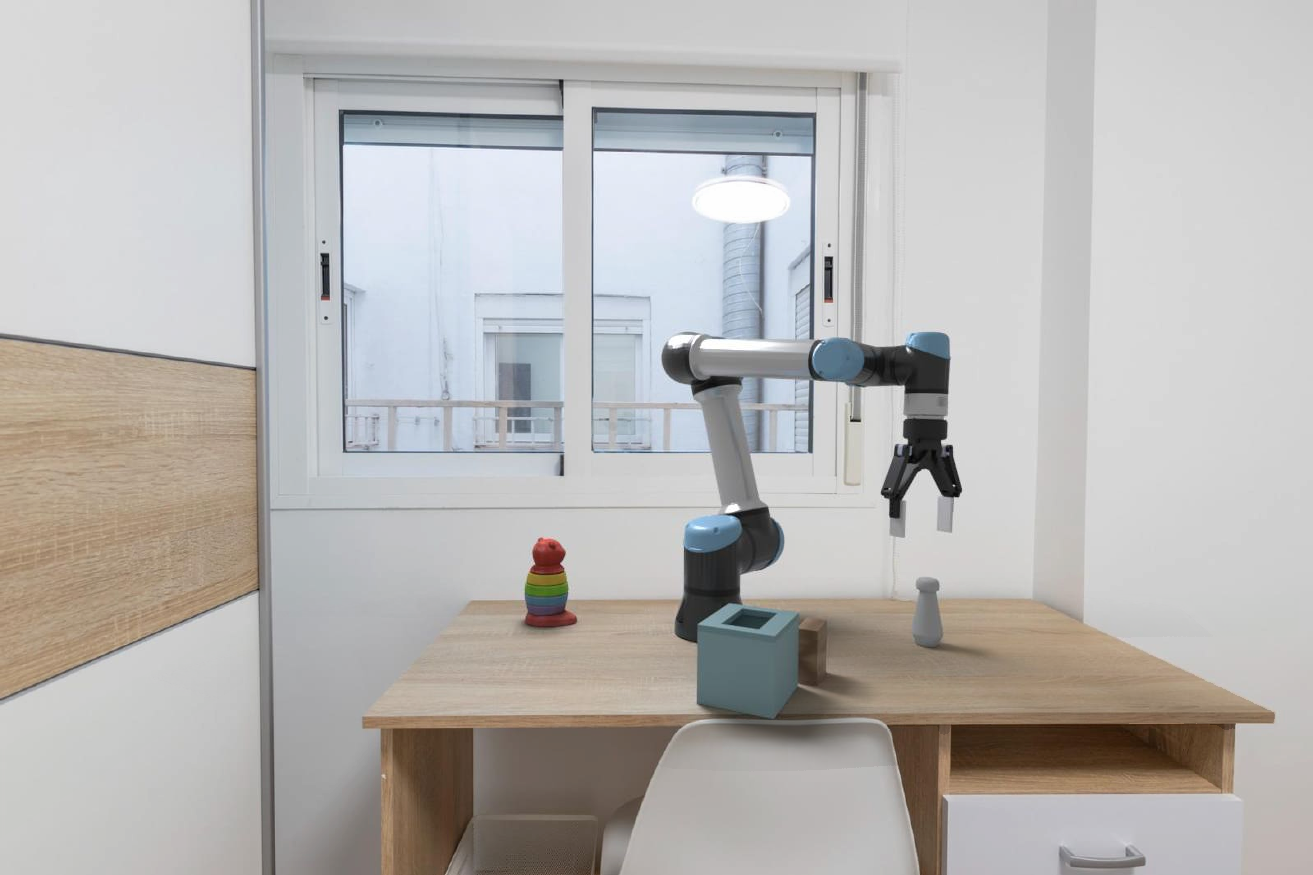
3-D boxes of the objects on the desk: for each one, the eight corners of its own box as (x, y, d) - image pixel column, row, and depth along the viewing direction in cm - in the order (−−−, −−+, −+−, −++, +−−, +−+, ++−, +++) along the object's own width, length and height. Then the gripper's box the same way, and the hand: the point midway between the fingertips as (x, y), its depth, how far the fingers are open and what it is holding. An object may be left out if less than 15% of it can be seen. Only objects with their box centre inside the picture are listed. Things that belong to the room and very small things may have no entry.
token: (795, 682, 109) (796, 628, 109) (805, 668, 115) (806, 617, 115) (816, 686, 107) (817, 631, 107) (825, 672, 114) (826, 620, 114)
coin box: (696, 703, 100) (697, 624, 100) (728, 673, 112) (729, 603, 112) (773, 719, 95) (774, 636, 95) (797, 686, 107) (798, 612, 107)
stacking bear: (580, 623, 141) (581, 540, 141) (536, 630, 135) (537, 544, 135) (558, 611, 150) (559, 533, 150) (516, 618, 144) (516, 536, 144)
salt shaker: (945, 649, 126) (946, 582, 126) (914, 647, 127) (915, 580, 127) (938, 640, 132) (940, 575, 132) (908, 638, 133) (909, 574, 133)
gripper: (897, 416, 110) (893, 542, 111) (984, 419, 123) (980, 532, 124) (862, 416, 117) (858, 535, 117) (948, 419, 130) (945, 526, 130)
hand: (921, 534), depth 120 cm, fingers open, 13 cm apart
